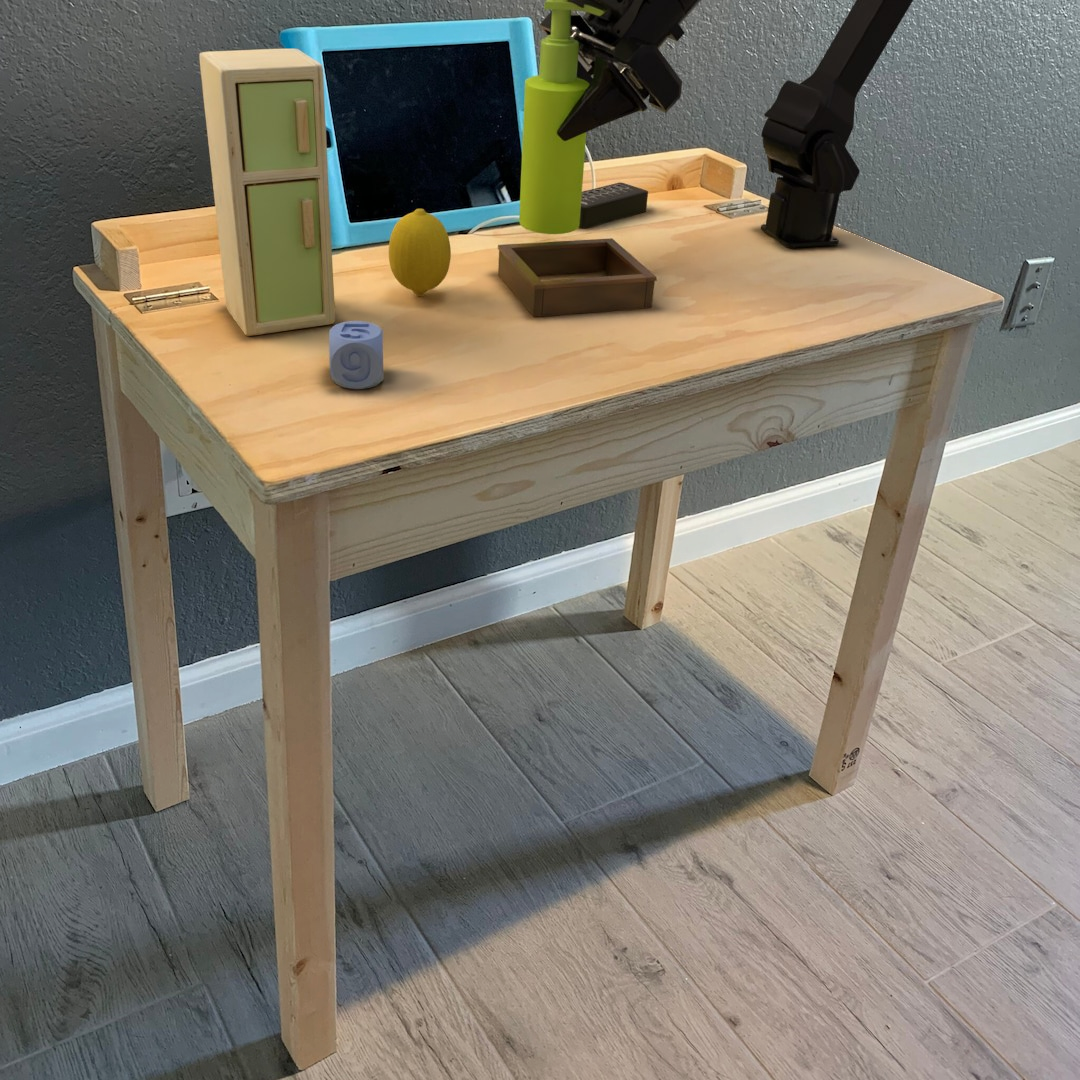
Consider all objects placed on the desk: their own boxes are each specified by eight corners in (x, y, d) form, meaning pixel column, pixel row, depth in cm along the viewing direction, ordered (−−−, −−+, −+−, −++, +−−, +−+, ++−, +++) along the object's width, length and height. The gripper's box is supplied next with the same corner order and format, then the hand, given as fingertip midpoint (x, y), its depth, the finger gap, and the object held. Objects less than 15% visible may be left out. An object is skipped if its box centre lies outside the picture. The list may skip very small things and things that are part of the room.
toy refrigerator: (246, 341, 93) (222, 69, 82) (223, 309, 99) (197, 50, 87) (339, 328, 96) (328, 66, 85) (312, 298, 102) (298, 47, 90)
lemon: (462, 297, 104) (464, 211, 100) (417, 312, 101) (417, 223, 96) (422, 280, 107) (422, 195, 103) (376, 293, 104) (374, 206, 99)
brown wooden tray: (609, 267, 113) (612, 238, 111) (653, 308, 105) (657, 276, 103) (496, 275, 110) (497, 244, 108) (532, 317, 101) (534, 285, 99)
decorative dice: (383, 367, 91) (382, 320, 88) (383, 389, 87) (382, 341, 85) (332, 367, 90) (330, 320, 88) (330, 389, 87) (328, 341, 84)
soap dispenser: (583, 239, 107) (601, 9, 96) (512, 229, 108) (521, 1, 97) (595, 219, 112) (613, -3, 100) (527, 210, 113) (537, -10, 102)
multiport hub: (647, 211, 130) (650, 190, 128) (582, 229, 123) (584, 207, 121) (618, 201, 132) (620, 181, 131) (553, 218, 125) (554, 197, 124)
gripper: (565, -88, 104) (452, 45, 106) (666, -63, 90) (534, 89, 92) (632, 4, 112) (525, 127, 114) (735, 40, 98) (611, 179, 100)
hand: (545, 128), depth 105 cm, fingers closed on soap dispenser, 6 cm apart
